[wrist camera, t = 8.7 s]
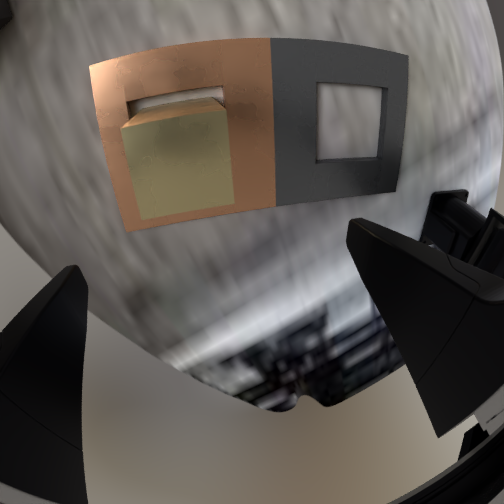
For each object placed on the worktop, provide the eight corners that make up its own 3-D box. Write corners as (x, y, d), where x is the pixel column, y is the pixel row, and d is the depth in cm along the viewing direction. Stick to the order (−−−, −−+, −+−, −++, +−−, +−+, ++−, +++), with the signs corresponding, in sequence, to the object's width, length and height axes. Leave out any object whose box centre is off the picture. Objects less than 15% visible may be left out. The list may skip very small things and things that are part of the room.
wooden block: (211, 96, 16) (226, 109, 11) (217, 159, 19) (234, 203, 13) (142, 108, 16) (120, 128, 10) (153, 170, 18) (141, 220, 13)
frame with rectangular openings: (401, 54, 16) (408, 55, 15) (390, 188, 23) (395, 191, 23) (93, 65, 13) (89, 65, 12) (128, 226, 20) (126, 232, 19)
